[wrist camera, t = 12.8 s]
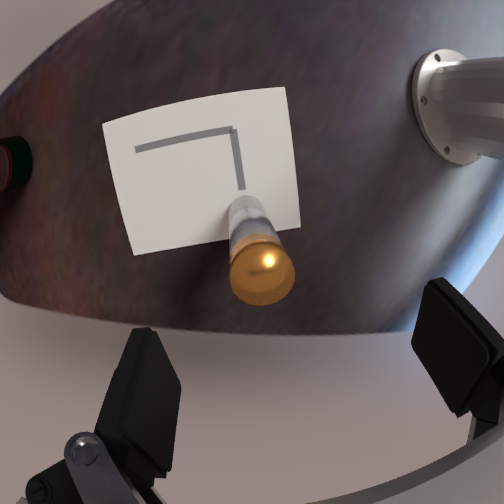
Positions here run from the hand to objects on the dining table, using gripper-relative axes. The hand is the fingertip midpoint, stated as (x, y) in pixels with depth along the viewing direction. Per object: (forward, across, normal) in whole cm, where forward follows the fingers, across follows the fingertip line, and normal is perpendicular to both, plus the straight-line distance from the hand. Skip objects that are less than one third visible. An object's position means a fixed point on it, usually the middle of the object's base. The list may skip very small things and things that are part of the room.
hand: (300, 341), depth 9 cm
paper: (+16, +4, -4) cm, 17 cm away
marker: (+16, +1, 0) cm, 16 cm away
